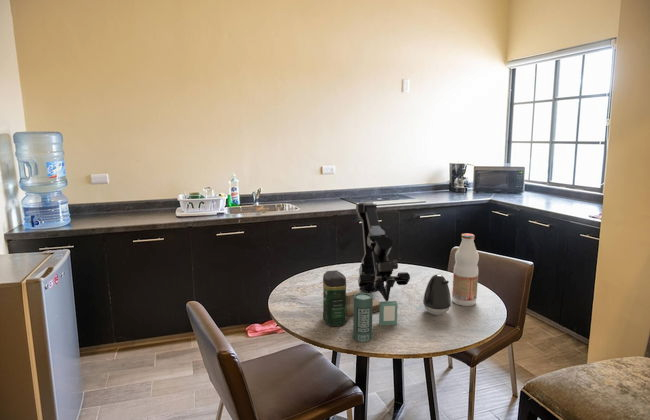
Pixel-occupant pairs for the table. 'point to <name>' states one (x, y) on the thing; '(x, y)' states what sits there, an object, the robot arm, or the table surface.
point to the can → (362, 317)
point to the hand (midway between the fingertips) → (387, 300)
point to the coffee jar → (334, 298)
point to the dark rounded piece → (437, 295)
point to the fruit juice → (465, 272)
